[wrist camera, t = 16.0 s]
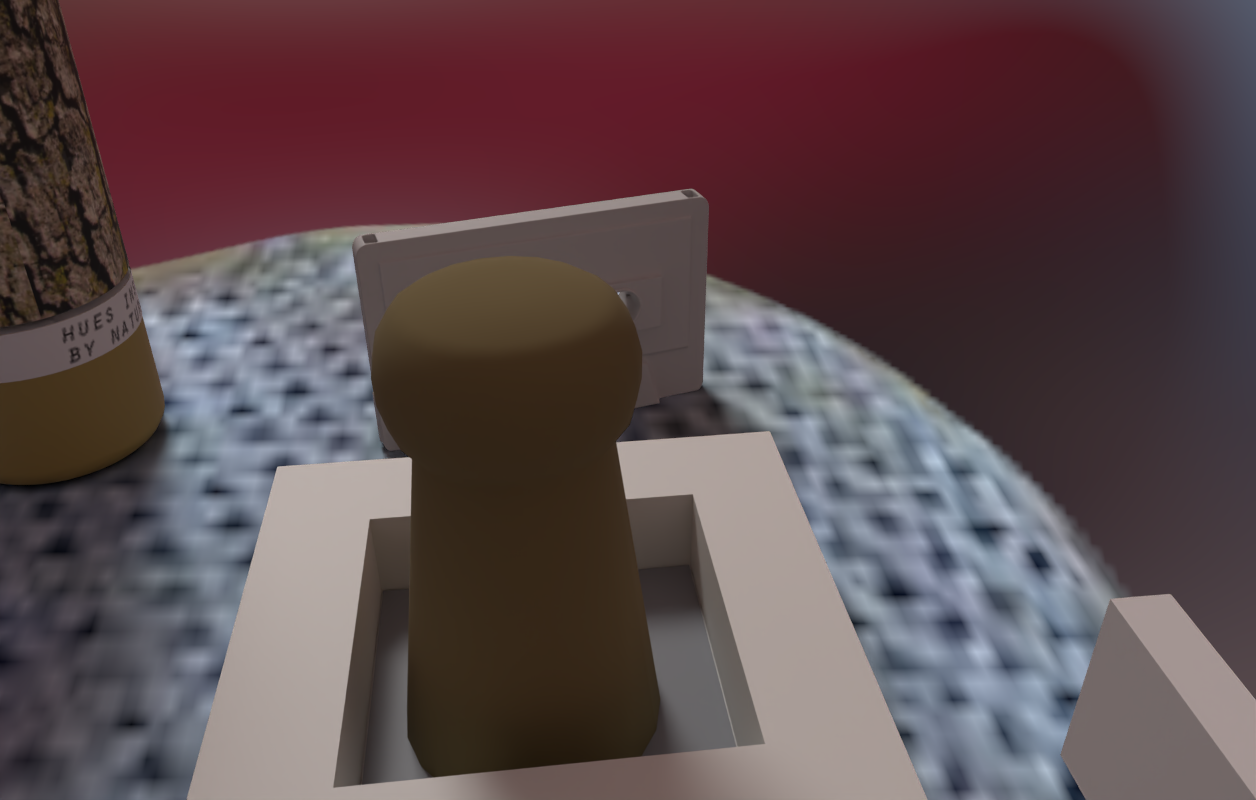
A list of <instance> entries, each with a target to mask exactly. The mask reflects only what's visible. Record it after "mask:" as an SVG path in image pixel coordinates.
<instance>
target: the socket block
mask: <svg viewBox="0 0 1256 800" xmlns="http://www.w3.org/2000/svg"><path fill="white" fill-rule="evenodd" d="M616 444H617V450H618V456H619V462H620V468H621V473H622V479H623V485H624V491H625V497H626V502H627V508H628V514H629V520H630V526H631V531H632V537H633V543H634V549H635V555H636V560H637V566H638V572H639V578H640V584H641V589H642V595H643V601H644V607H645V613H646V618H647V624H648V630H649V636H650V642H651V647H652V653H653V659H654V665H655V671H656V676H657V682H658V688H659V694H660V706H659V714H658V721H657V729H656V731H655V733H654V735H653V737H652V738H651V740H650V742H649V744H648V745H647V747H646V749H645V751H644V752H643V754H642V756H641V757H632V758H622V759H612V760H602V761H593V762H583V763H573V764H563V765H553V766H543V767H533V768H523V769H514V770H504V771H494V772H484V773H474V774H464V775H454V776H444V777H435V778H434V777H432V776H431V775H430V774H429V773H428V772H427V771H426V770H425V769H424V768H422V767H421V765H420V763H419V761H418V758H417V756H416V754H415V752H414V750H413V748H412V746H411V744H410V742H409V740H408V738H407V673H408V624H409V574H410V524H411V475H412V459H411V458H410V457H406V458H392V459H378V460H364V461H350V462H336V463H323V464H309V465H295V466H281V467H277V471H276V474H275V478H274V482H273V485H272V489H271V493H270V496H269V500H268V504H267V507H266V511H265V515H264V518H263V522H262V525H261V529H260V533H259V536H258V540H257V544H256V547H255V551H254V555H253V558H252V562H251V566H250V569H249V573H248V577H247V580H246V584H245V588H244V591H243V595H242V599H241V602H240V606H239V610H238V613H237V617H236V621H235V624H234V628H233V632H232V635H231V639H230V643H229V646H228V650H227V654H226V657H225V661H224V665H223V668H222V672H221V676H220V679H219V683H218V687H217V690H216V694H215V697H214V701H213V705H212V708H211V712H210V716H209V719H208V723H207V727H206V730H205V734H204V738H203V741H202V745H201V749H200V752H199V756H198V760H197V763H196V767H195V771H194V774H193V778H192V782H191V785H190V789H189V793H188V796H187V800H927V798H926V795H925V793H924V791H923V788H922V786H921V784H920V781H919V779H918V777H917V774H916V772H915V770H914V767H913V765H912V763H911V760H910V758H909V756H908V753H907V751H906V749H905V746H904V744H903V741H902V739H901V737H900V734H899V732H898V730H897V727H896V725H895V723H894V720H893V718H892V716H891V713H890V711H889V709H888V706H887V704H886V702H885V699H884V697H883V695H882V692H881V690H880V688H879V685H878V683H877V681H876V678H875V676H874V674H873V671H872V669H871V667H870V664H869V662H868V660H867V657H866V655H865V653H864V650H863V648H862V646H861V643H860V641H859V639H858V636H857V634H856V632H855V629H854V627H853V625H852V622H851V620H850V618H849V615H848V613H847V611H846V608H845V606H844V604H843V601H842V599H841V597H840V594H839V592H838V590H837V587H836V585H835V583H834V580H833V578H832V576H831V573H830V571H829V569H828V566H827V564H826V562H825V559H824V557H823V555H822V552H821V550H820V548H819V545H818V543H817V541H816V538H815V536H814V534H813V531H812V529H811V527H810V524H809V522H808V520H807V517H806V515H805V513H804V510H803V508H802V506H801V503H800V501H799V499H798V496H797V494H796V492H795V489H794V487H793V485H792V482H791V480H790V478H789V475H788V473H787V471H786V468H785V466H784V464H783V461H782V459H781V457H780V454H779V452H778V450H777V447H776V445H775V443H774V440H773V438H772V435H771V433H770V431H767V432H753V433H740V434H726V435H712V436H698V437H684V438H670V439H656V440H642V441H628V442H616Z"/></svg>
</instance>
